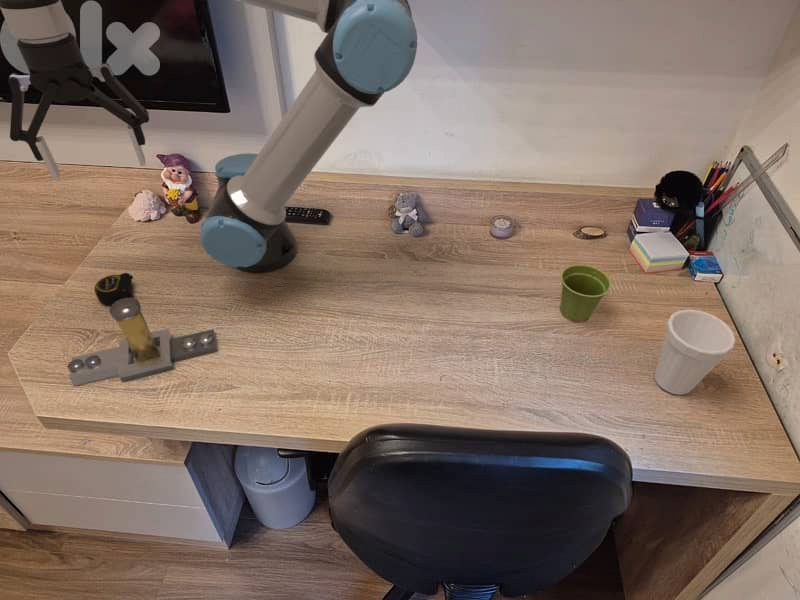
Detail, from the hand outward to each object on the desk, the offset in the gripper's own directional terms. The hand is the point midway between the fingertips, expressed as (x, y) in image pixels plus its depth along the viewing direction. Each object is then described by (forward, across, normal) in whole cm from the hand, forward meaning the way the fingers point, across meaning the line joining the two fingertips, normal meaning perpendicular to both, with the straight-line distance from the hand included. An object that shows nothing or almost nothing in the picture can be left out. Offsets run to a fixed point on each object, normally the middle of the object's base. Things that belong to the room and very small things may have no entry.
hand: (101, 169), depth 90 cm
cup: (+29, -85, +57) cm, 106 cm away
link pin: (+29, +1, +18) cm, 34 cm away
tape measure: (+29, +6, -2) cm, 30 cm away
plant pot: (+29, -79, +36) cm, 92 cm away
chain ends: (+29, +2, +18) cm, 34 cm away
